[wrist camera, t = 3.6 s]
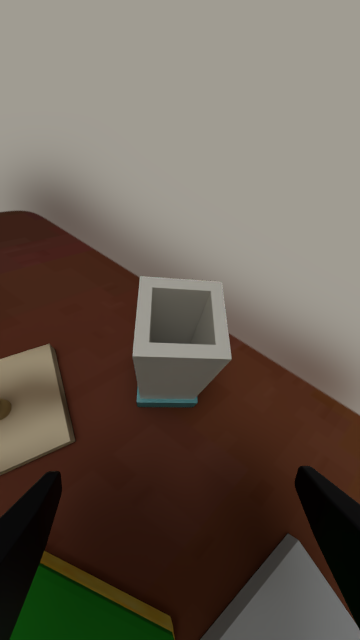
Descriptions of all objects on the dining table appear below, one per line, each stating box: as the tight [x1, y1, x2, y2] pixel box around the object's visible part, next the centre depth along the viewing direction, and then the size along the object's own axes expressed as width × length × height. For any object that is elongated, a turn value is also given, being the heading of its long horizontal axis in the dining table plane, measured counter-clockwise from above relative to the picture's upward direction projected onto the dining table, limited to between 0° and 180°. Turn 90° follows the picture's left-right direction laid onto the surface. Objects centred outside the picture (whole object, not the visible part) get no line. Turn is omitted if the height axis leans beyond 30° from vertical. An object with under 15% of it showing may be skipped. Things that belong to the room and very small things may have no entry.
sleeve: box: [133, 276, 231, 407], centre depth 17 cm, size 5×5×13 cm
